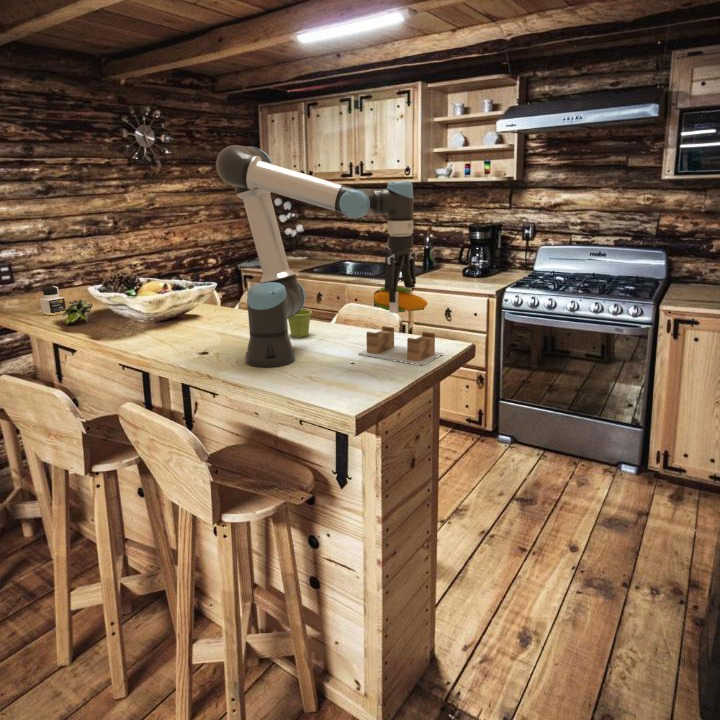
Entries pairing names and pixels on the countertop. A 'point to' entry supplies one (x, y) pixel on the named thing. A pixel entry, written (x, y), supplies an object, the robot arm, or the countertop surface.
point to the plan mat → (399, 355)
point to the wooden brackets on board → (415, 347)
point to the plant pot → (300, 323)
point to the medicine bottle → (52, 300)
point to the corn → (399, 300)
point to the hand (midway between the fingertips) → (400, 310)
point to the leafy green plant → (77, 311)
